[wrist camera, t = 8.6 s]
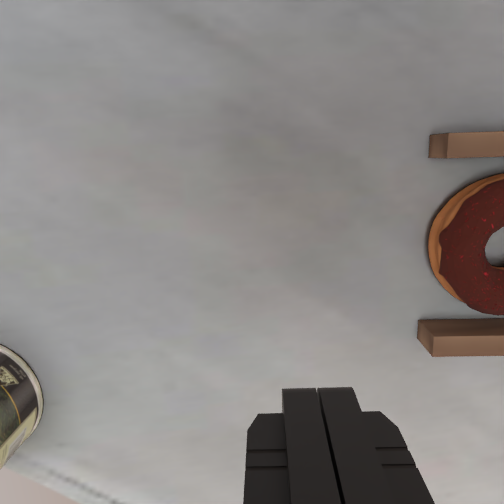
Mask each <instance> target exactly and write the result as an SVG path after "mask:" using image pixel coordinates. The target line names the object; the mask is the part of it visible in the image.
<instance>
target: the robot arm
mask: <svg viewBox="0 0 504 504" xmlns="http://www.w3.org/2000/svg"><path fill="white" fill-rule="evenodd" d="M246 451H247V453H246V471H245V485H244V502H243V504H435V503H434V501H433V499H432V497H431V495H430V493H429V491H428V489H427V487H426V484H425V482H424V480H423V478H422V476H421V474H420V472H419V470H418V468H416V464H415V462H414V460H413V458H412V455H411V453H410V451H408V449H407V445H406V443H405V441H404V439H403V437H402V435H401V433H400V431H399V428H398V427H397V426H396V425H395V424H394V423H393V422H391V421H390V420H389V419H388V418H387V417H386V416H385V415H384V414H382V413H381V412H380V411H370V412H362V411H361V408H360V406H359V403H358V400H357V398H356V395H355V392H354V390H353V388H352V387H337V388H318V389H317V391H316V388H295V389H282V413H271V414H258V415H257V417H256V418H255V420H254V421H253V423H252V424H251V426H250V427H249V429H248V431H247V449H246Z"/></svg>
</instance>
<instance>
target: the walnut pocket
mask: <svg viewBox="0 0 504 504" xmlns="http://www.w3.org/2000/svg"><path fill="white" fill-rule="evenodd" d="M499 156H504V131H498V132H468V133H445V134H436V135H430V144H429V158H467V157H499ZM417 339H418V340H419V341H420V342H421V343H422V345H423V346H424V347H425V348H426V349H427V351H428V352H429V353H430V354H431V356H432V357H445V356H504V318H497V319H440V320H418V334H417Z"/></svg>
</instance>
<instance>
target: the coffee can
mask: <svg viewBox="0 0 504 504" xmlns="http://www.w3.org/2000/svg"><path fill="white" fill-rule="evenodd" d="M42 409H43V398H42V392H41V388H40V385H39V382H38V380H37V378H36V376H35V375H34V373H33V371H32V370H31V369H30V367H29V366H28V365H27V364H26V363H25V361H24V360H23V359H21V358H20V357H19V356H18V355H16V354H15V353H14V352H12V351H11V350H9V349H7V348H6V347H4V346H2V345H0V469H1V468H2V467H3V466H4V465H5V463H6V462H7V461H8V460H9V459H10V457H11V456H12V455H13V454H14V452H15V451H16V450H17V449H18V448H19V446H20V445H21V444H22V443H23V442H24V441H25V440H26V439H27V438H28V437H29V436H30V435H31V434H32V433H33V431H34V430H35V429H36V427H37V425H38V423H39V421H40V418H41V415H42Z"/></svg>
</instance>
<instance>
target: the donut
mask: <svg viewBox="0 0 504 504" xmlns="http://www.w3.org/2000/svg"><path fill="white" fill-rule="evenodd" d="M502 227H504V173H503V174H498V175H494V176H491V177H488V178H485V179H482V180H479V181H477V182H475V183H473V184H471V185H469V186H467V187H466V188H464V189H463V190H461V191H460V192H458V193H457V194H456V195H455V196H454V197H453V198H451V199H450V200H449V201H448V203H447V204H446V205H445V206H444V207H443V208H442V210H441V211H440V212H439V213H438V214H437V216H436V218H435V220H434V222H433V225H432V227H431V230H430V235H429V243H428V250H429V258H430V263H431V267H432V270H433V272H434V274H435V276H436V278H437V279H438V280H439V282H440V283H441V284H442V286H443V287H444V288H445V289H446V290H447V291H448V292H449V293H450V294H451V295H452V296H454V297H455V298H457V299H458V300H460V301H462V302H464V303H466V304H467V305H468V306H469V307H470V308H472V309H474V310H477V311H479V312H481V313H485V314H492V315H504V267H494V266H491V265H490V264H489V262H488V261H487V259H486V256H485V246H486V244H487V241H488V240H489V238H490V236H491V235H492V234H493V233H494V232H496V231H497V230H499V229H500V228H502Z"/></svg>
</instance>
